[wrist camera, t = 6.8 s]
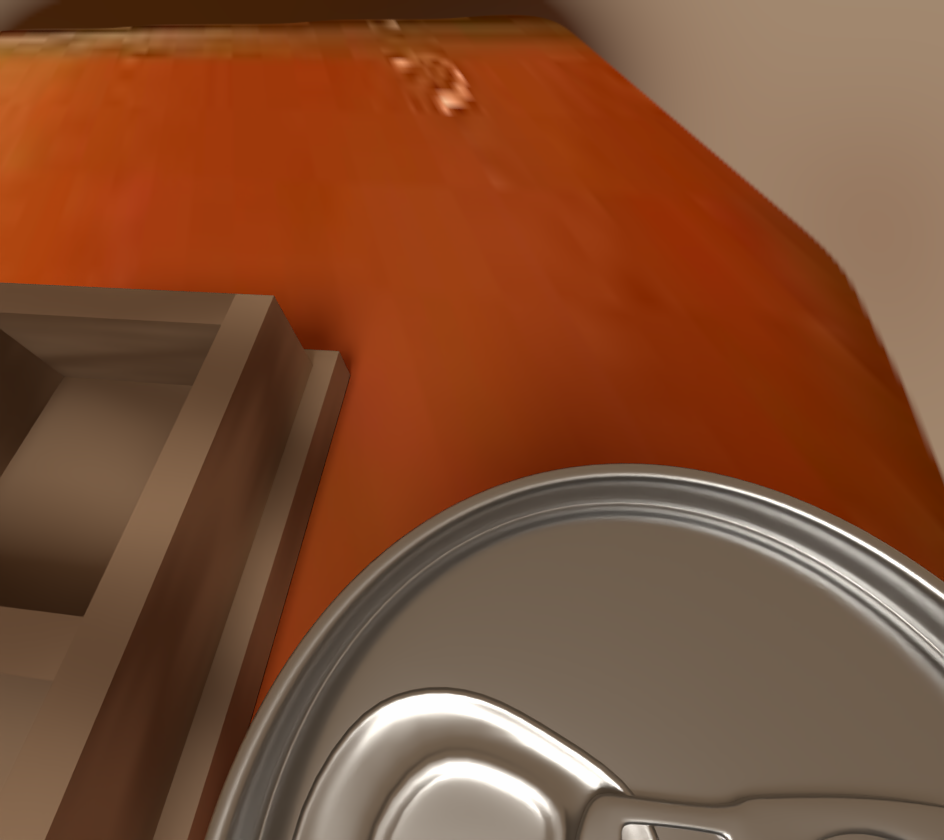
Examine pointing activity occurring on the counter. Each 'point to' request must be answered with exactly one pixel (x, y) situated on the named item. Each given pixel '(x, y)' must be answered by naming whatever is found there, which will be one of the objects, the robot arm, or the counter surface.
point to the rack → (144, 545)
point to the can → (610, 676)
